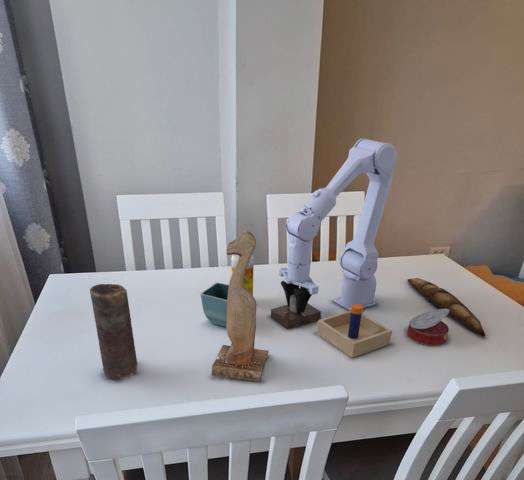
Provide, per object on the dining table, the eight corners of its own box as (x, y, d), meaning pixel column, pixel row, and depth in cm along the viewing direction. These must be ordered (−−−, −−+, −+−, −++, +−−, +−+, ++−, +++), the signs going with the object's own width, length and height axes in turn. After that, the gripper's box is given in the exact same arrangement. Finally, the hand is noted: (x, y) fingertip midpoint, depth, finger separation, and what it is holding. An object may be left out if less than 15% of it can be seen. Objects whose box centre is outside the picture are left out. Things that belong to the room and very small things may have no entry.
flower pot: (245, 318, 129) (246, 288, 124) (230, 332, 122) (230, 301, 117) (217, 311, 132) (216, 281, 127) (200, 325, 125) (199, 293, 120)
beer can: (250, 309, 134) (251, 258, 126) (229, 307, 135) (228, 256, 127) (254, 300, 139) (255, 251, 131) (234, 298, 140) (234, 249, 132)
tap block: (302, 308, 135) (303, 299, 134) (320, 319, 130) (321, 310, 128) (270, 317, 130) (271, 308, 129) (287, 329, 125) (288, 320, 123)
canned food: (427, 361, 122) (423, 337, 115) (401, 339, 129) (396, 315, 121) (461, 336, 123) (460, 310, 115) (434, 316, 130) (431, 291, 122)
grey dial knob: (286, 308, 129) (287, 294, 127) (297, 305, 131) (298, 291, 129) (294, 314, 127) (295, 299, 124) (305, 311, 128) (306, 296, 126)
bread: (400, 282, 153) (403, 268, 151) (413, 281, 155) (416, 266, 152) (476, 340, 122) (481, 323, 120) (492, 338, 124) (498, 321, 121)
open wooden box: (352, 322, 129) (354, 309, 127) (389, 344, 119) (392, 330, 117) (316, 333, 123) (318, 320, 121) (352, 358, 113) (354, 343, 111)
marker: (353, 332, 122) (357, 302, 118) (360, 337, 120) (365, 307, 116) (345, 335, 121) (349, 305, 117) (352, 340, 119) (357, 309, 115)
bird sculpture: (220, 351, 114) (217, 219, 97) (268, 355, 113) (274, 222, 97) (211, 378, 105) (206, 236, 88) (264, 382, 104) (269, 240, 87)
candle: (107, 361, 109) (93, 280, 98) (140, 361, 110) (129, 280, 99) (100, 381, 102) (85, 296, 92) (135, 380, 103) (123, 296, 93)
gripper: (270, 255, 125) (268, 301, 132) (304, 273, 114) (300, 323, 121) (292, 250, 128) (289, 296, 135) (326, 268, 118) (321, 317, 125)
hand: (295, 308), depth 128 cm, fingers closed on grey dial knob, 4 cm apart
